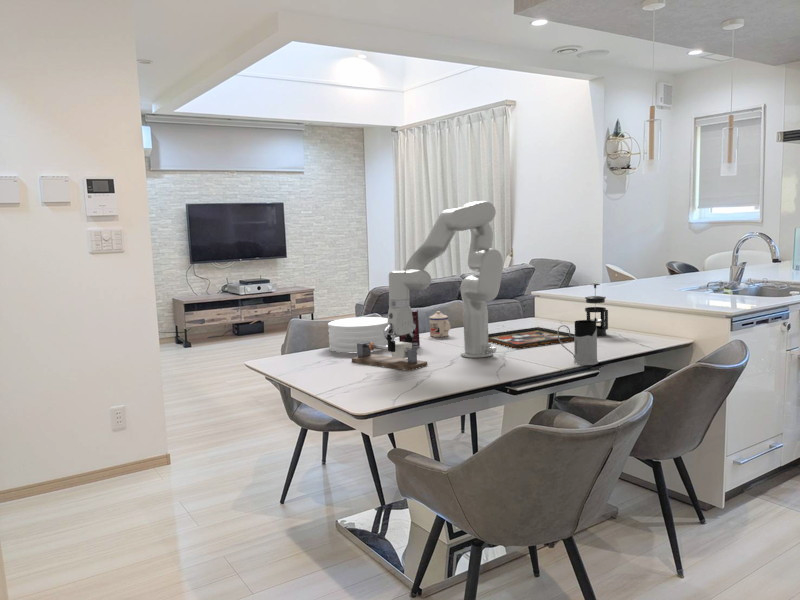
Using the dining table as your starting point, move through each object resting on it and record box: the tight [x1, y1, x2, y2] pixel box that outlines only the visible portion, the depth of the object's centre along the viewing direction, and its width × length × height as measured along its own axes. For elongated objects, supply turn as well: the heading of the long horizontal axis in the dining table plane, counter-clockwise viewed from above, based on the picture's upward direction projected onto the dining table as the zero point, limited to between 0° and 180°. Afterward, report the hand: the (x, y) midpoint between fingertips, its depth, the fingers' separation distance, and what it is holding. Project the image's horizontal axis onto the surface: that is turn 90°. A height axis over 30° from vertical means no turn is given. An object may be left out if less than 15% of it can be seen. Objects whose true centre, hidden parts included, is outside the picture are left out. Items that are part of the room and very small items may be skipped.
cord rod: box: [356, 342, 418, 364], centre depth 241 cm, size 28×4×6 cm, turn 49°
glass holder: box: [556, 319, 599, 366], centre depth 229 cm, size 9×14×15 cm, turn 79°
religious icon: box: [488, 326, 575, 349], centre depth 280 cm, size 38×35×3 cm
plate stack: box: [327, 316, 392, 353], centre depth 279 cm, size 28×28×12 cm
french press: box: [584, 283, 609, 337], centre depth 283 cm, size 12×9×23 cm
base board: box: [351, 353, 428, 371], centre depth 241 cm, size 30×10×2 cm, turn 49°
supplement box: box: [398, 309, 421, 349], centre depth 273 cm, size 9×5×16 cm, turn 84°
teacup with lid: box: [428, 310, 451, 338], centre depth 298 cm, size 12×9×12 cm
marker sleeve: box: [390, 341, 412, 359], centre depth 236 cm, size 6×5×5 cm
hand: (400, 349), depth 236 cm, fingers open, 9 cm apart
